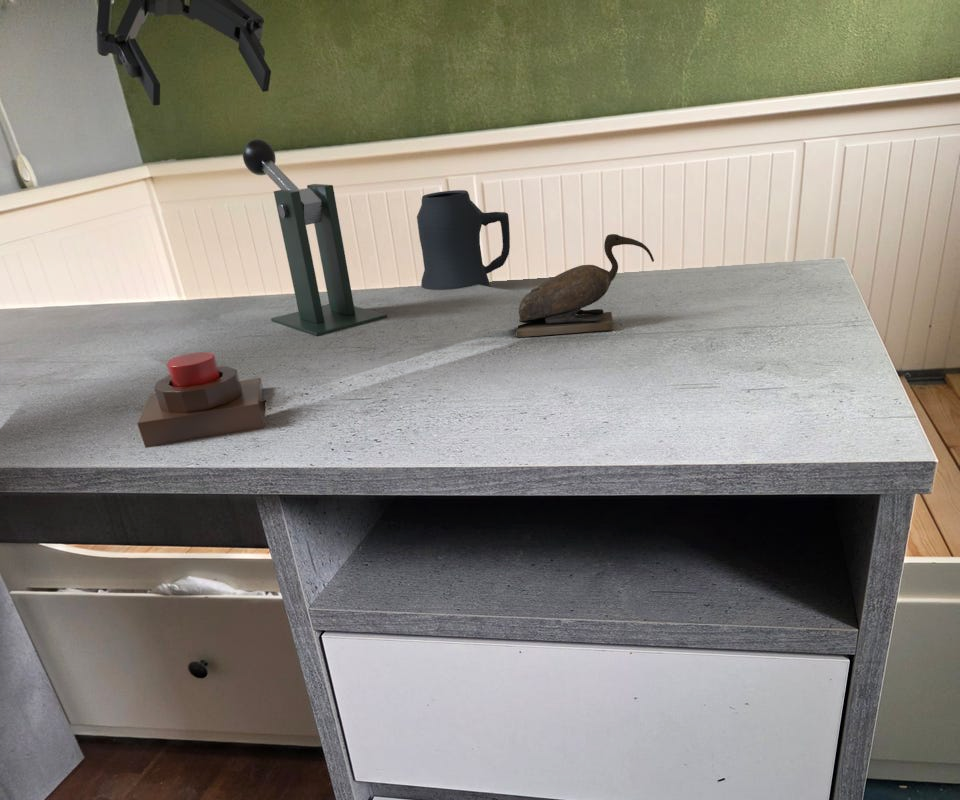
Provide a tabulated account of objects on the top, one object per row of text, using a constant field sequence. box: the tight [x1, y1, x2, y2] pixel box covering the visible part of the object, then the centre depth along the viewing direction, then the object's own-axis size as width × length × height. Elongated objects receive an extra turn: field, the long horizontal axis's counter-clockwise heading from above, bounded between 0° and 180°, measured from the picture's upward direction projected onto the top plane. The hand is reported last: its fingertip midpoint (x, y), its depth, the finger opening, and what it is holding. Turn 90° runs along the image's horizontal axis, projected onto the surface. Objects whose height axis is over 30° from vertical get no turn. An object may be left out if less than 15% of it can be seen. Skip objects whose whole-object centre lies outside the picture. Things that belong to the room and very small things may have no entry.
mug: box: [416, 189, 511, 291], centre depth 109 cm, size 12×9×11 cm
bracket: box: [270, 183, 388, 337], centre depth 98 cm, size 12×9×15 cm
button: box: [166, 351, 220, 387], centre depth 75 cm, size 4×4×2 cm
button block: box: [137, 365, 267, 448], centre depth 76 cm, size 10×8×4 cm
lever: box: [242, 138, 322, 226], centre depth 97 cm, size 14×4×4 cm, turn 36°
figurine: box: [515, 233, 655, 338], centre depth 89 cm, size 14×4×9 cm, turn 84°
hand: (213, 88), depth 102 cm, fingers open, 13 cm apart
